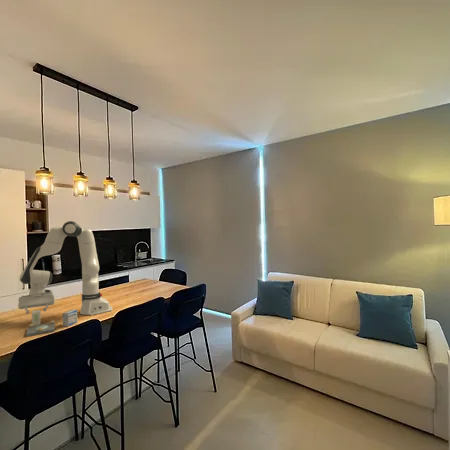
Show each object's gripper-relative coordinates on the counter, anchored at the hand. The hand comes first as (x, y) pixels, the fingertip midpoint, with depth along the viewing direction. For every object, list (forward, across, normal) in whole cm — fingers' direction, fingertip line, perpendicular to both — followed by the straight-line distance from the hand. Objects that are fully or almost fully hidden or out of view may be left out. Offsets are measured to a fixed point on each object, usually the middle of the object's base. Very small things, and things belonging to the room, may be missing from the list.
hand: (36, 311), depth 174 cm
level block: (+7, 0, +4) cm, 8 cm away
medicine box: (+16, +19, -6) cm, 26 cm away
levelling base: (+18, +4, -7) cm, 19 cm away
